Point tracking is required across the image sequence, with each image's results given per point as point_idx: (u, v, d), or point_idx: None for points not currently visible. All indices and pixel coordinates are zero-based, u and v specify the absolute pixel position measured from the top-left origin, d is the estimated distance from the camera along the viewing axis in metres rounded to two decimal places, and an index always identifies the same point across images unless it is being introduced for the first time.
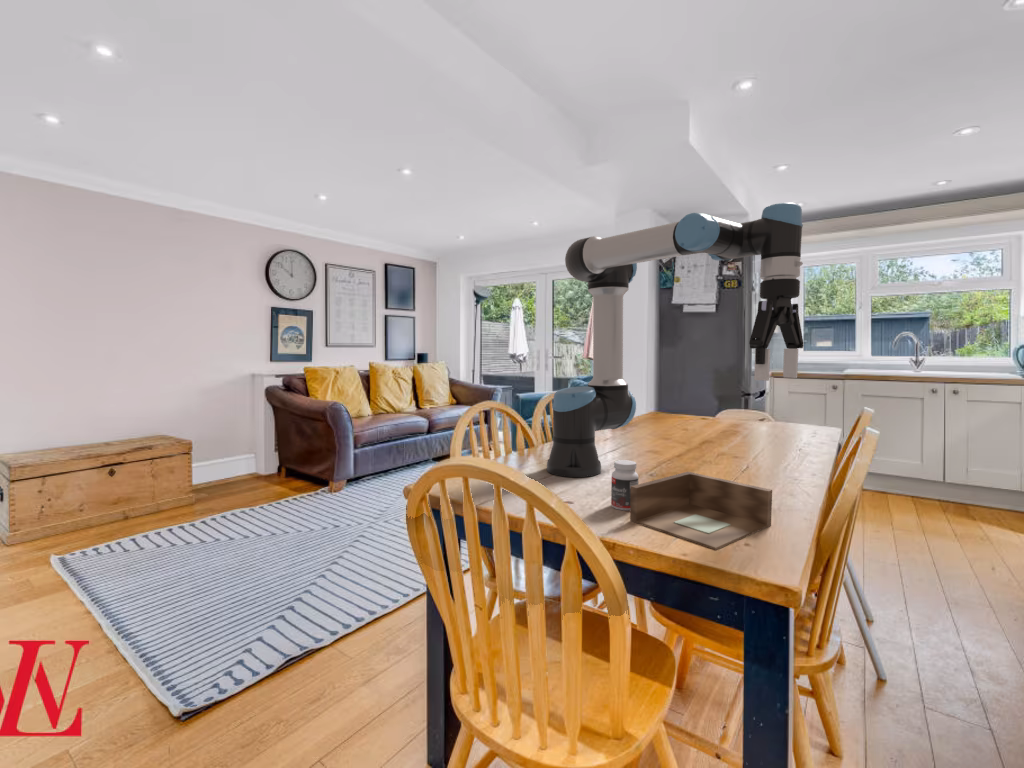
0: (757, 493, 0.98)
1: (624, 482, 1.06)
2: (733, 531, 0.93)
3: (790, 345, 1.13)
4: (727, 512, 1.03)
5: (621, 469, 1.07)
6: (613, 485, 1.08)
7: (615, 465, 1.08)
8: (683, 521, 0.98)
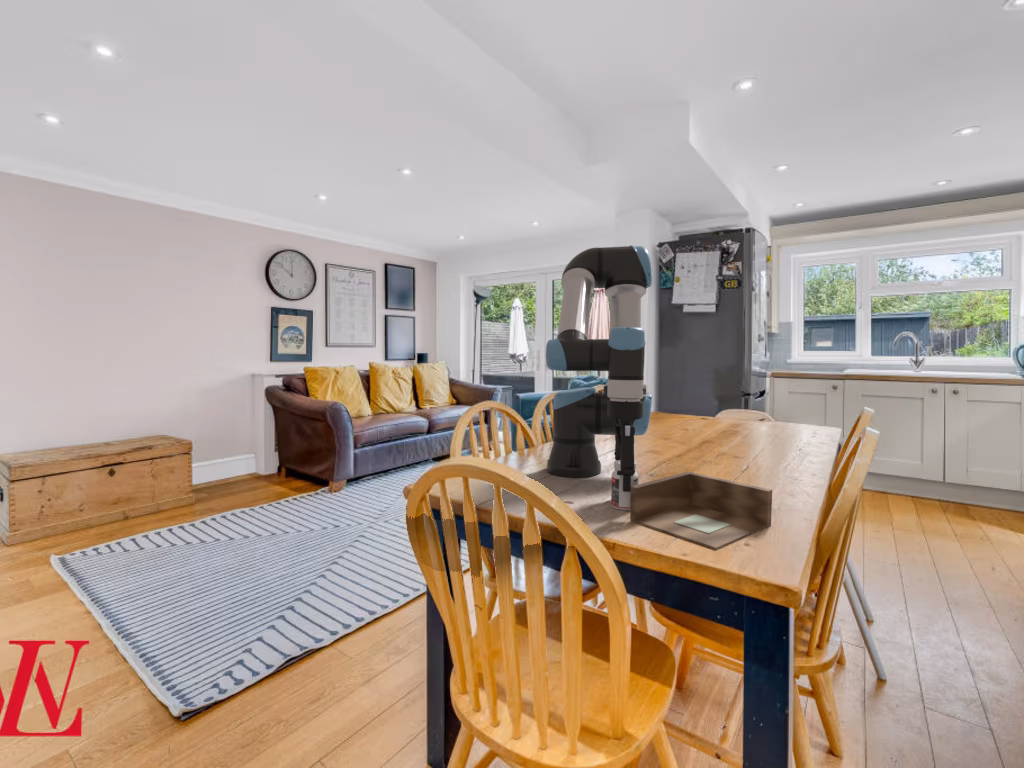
0: (757, 493, 0.98)
1: None
2: (733, 531, 0.93)
3: (619, 458, 1.16)
4: (727, 512, 1.03)
5: None
6: (613, 485, 1.08)
7: (615, 465, 1.08)
8: (683, 521, 0.98)
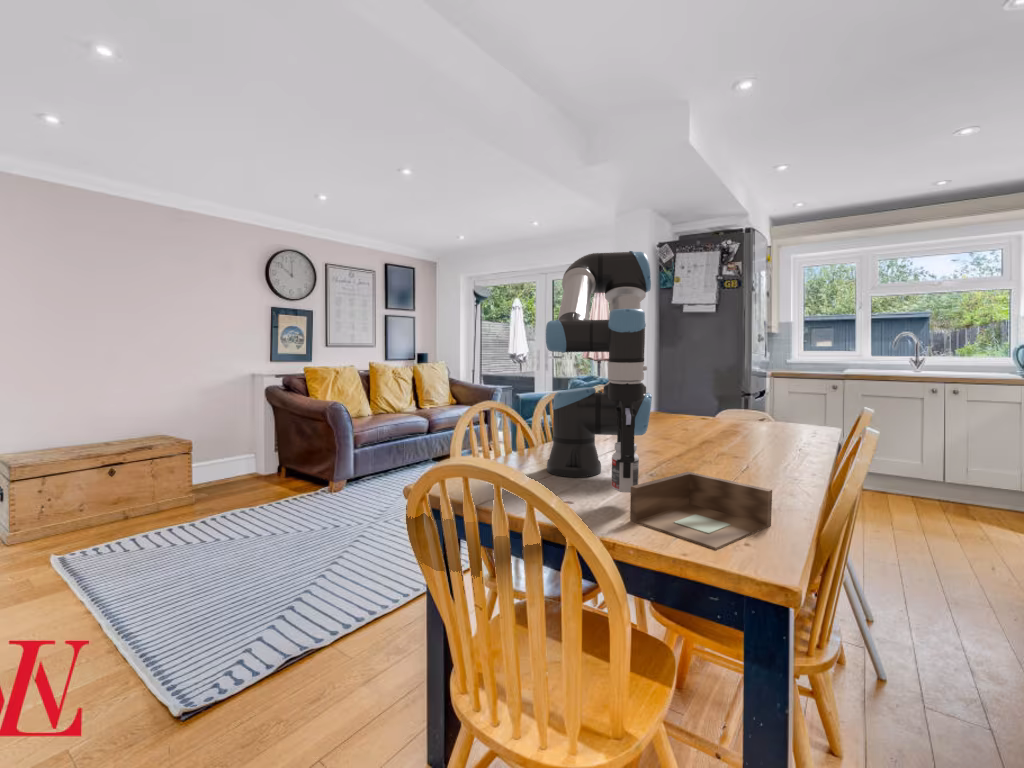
0: (757, 493, 0.98)
1: None
2: (733, 531, 0.93)
3: None
4: (727, 512, 1.03)
5: None
6: (613, 467, 1.09)
7: (616, 447, 1.08)
8: (683, 521, 0.98)
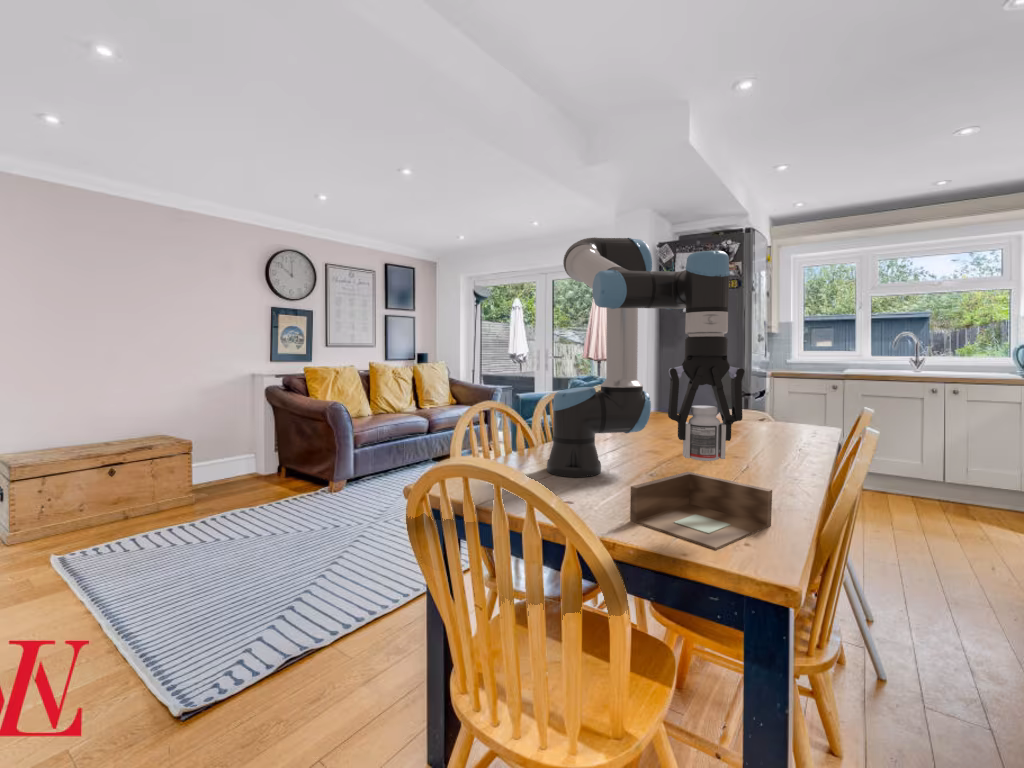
0: (757, 493, 0.98)
1: None
2: (733, 531, 0.93)
3: (723, 419, 0.96)
4: (727, 512, 1.03)
5: None
6: None
7: None
8: (683, 521, 0.98)
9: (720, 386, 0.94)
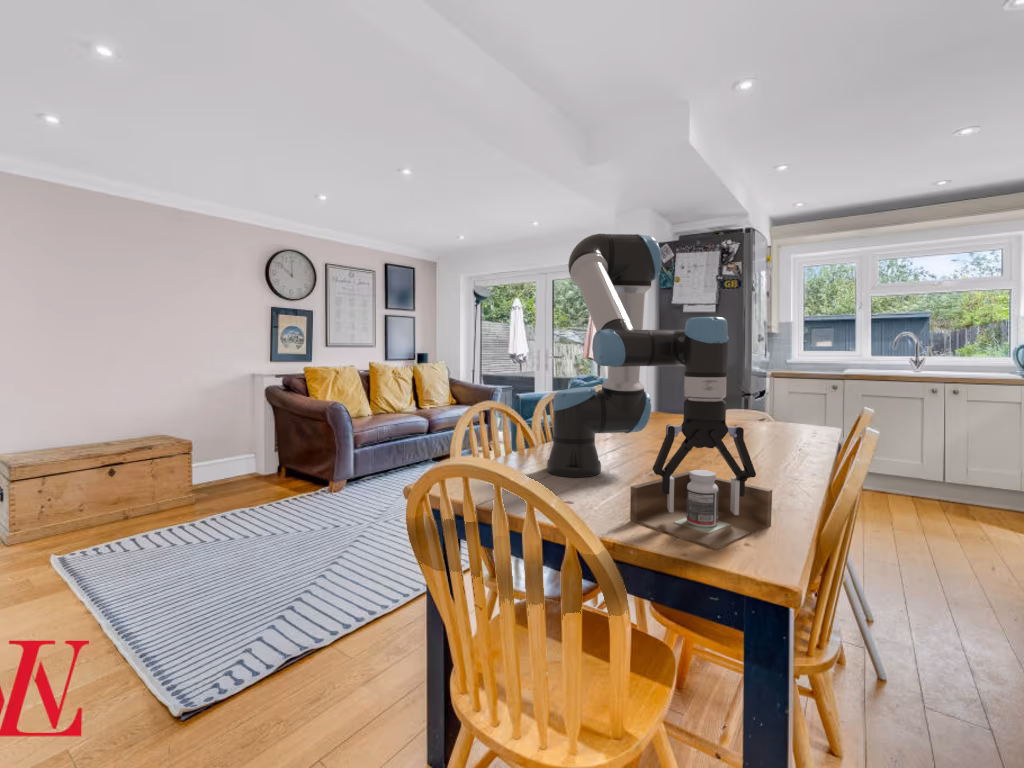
0: (757, 493, 0.98)
1: None
2: (733, 531, 0.93)
3: (736, 475, 0.96)
4: (727, 512, 1.03)
5: None
6: None
7: None
8: (683, 521, 0.98)
9: (723, 447, 0.94)
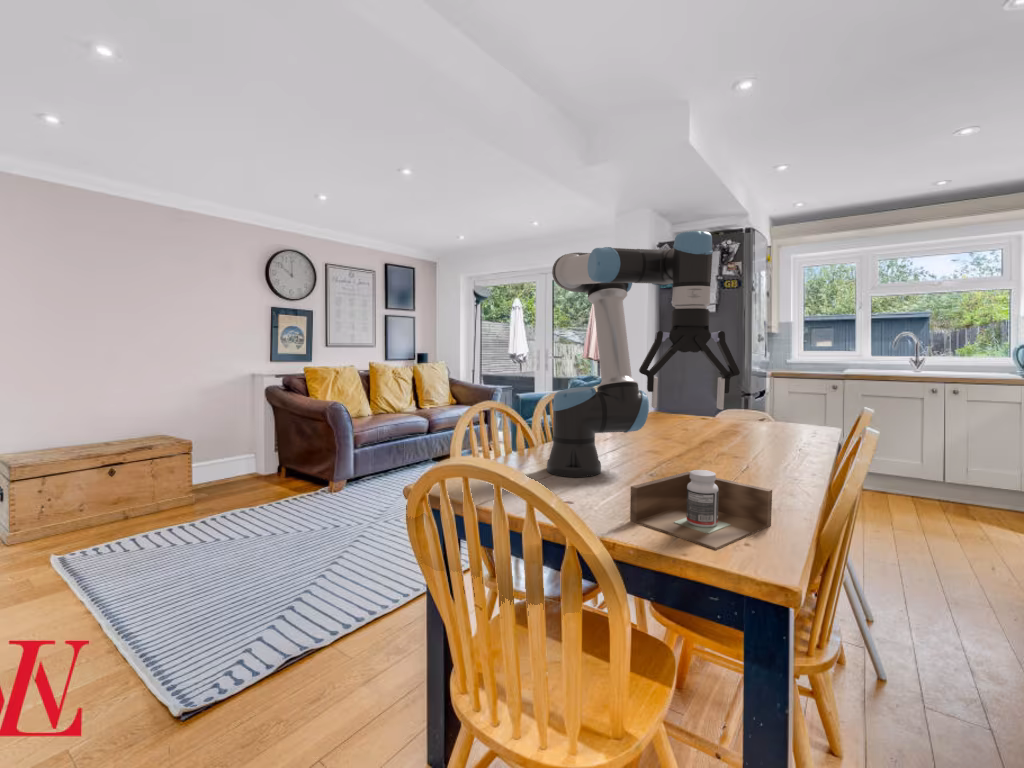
0: (757, 493, 0.98)
1: None
2: (733, 531, 0.93)
3: (722, 374, 1.07)
4: (727, 512, 1.03)
5: None
6: None
7: None
8: (683, 521, 0.98)
9: (707, 350, 1.05)
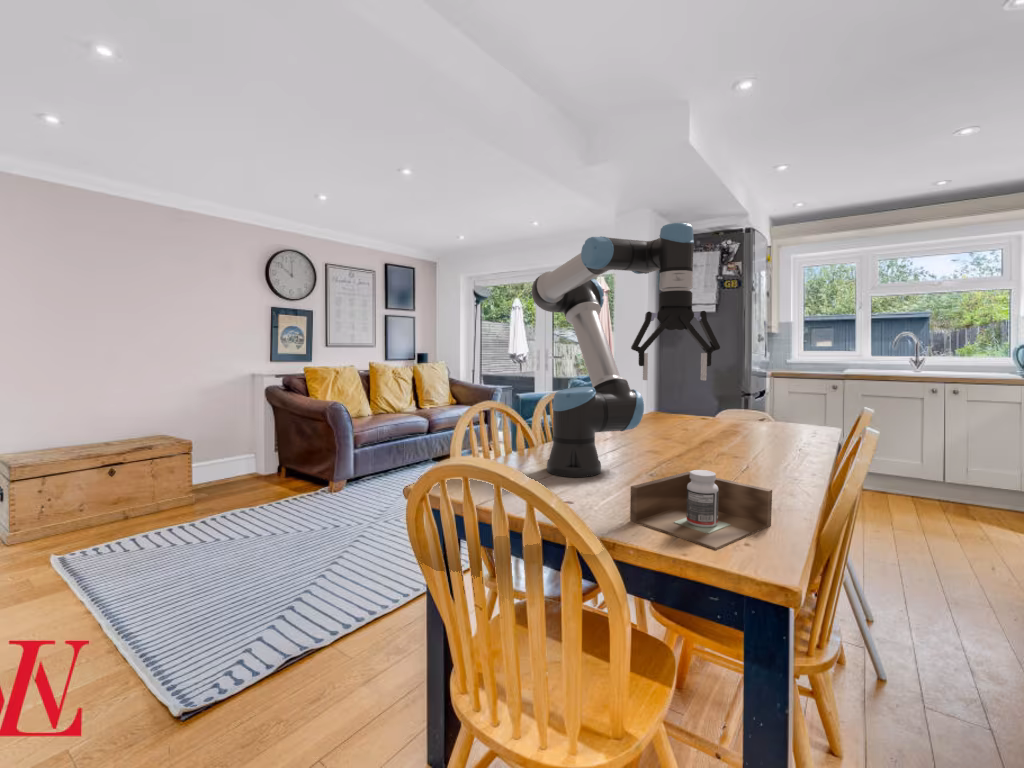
0: (757, 493, 0.98)
1: None
2: (733, 531, 0.93)
3: (705, 349, 1.20)
4: (727, 512, 1.03)
5: None
6: None
7: None
8: (683, 521, 0.98)
9: (691, 327, 1.18)
